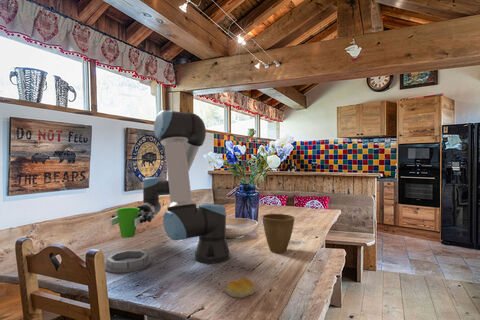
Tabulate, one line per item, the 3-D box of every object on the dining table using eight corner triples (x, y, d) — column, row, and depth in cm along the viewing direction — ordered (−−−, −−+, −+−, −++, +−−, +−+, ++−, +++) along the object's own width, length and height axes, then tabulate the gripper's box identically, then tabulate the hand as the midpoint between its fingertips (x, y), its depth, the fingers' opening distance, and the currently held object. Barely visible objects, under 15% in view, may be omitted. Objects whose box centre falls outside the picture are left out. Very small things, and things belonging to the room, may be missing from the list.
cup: (125, 240, 110) (125, 212, 110) (111, 237, 115) (111, 209, 115) (144, 235, 118) (144, 208, 118) (130, 232, 123) (130, 206, 123)
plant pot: (282, 258, 124) (282, 221, 124) (255, 251, 134) (255, 216, 134) (300, 250, 135) (300, 216, 135) (274, 244, 145) (274, 212, 145)
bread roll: (222, 291, 93) (222, 278, 93) (245, 284, 98) (245, 273, 98) (235, 301, 86) (235, 288, 86) (259, 294, 91) (259, 281, 91)
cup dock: (159, 264, 116) (159, 256, 116) (113, 277, 104) (113, 267, 104) (139, 254, 129) (139, 246, 129) (97, 264, 117) (97, 255, 117)
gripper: (167, 220, 134) (150, 232, 112) (121, 220, 135) (95, 232, 112) (167, 204, 134) (150, 213, 112) (121, 204, 135) (95, 213, 112)
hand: (123, 222), depth 112 cm, fingers closed on cup, 9 cm apart
